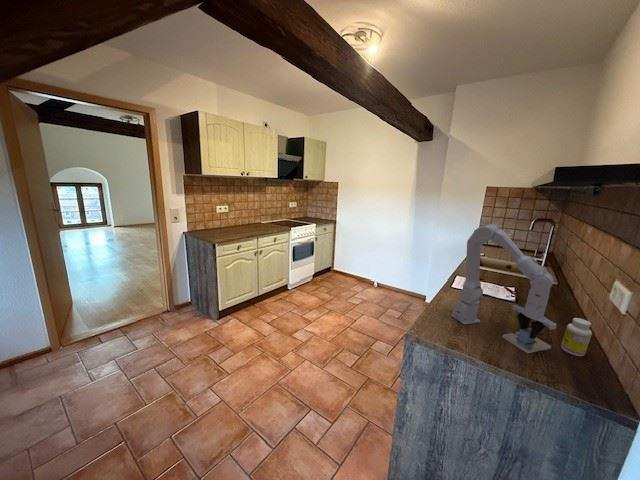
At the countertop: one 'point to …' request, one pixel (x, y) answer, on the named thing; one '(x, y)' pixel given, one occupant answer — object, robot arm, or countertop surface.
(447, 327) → the countertop surface
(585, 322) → the supplement bottle
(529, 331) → the block
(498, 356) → the countertop surface
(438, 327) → the countertop surface
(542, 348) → the plate
